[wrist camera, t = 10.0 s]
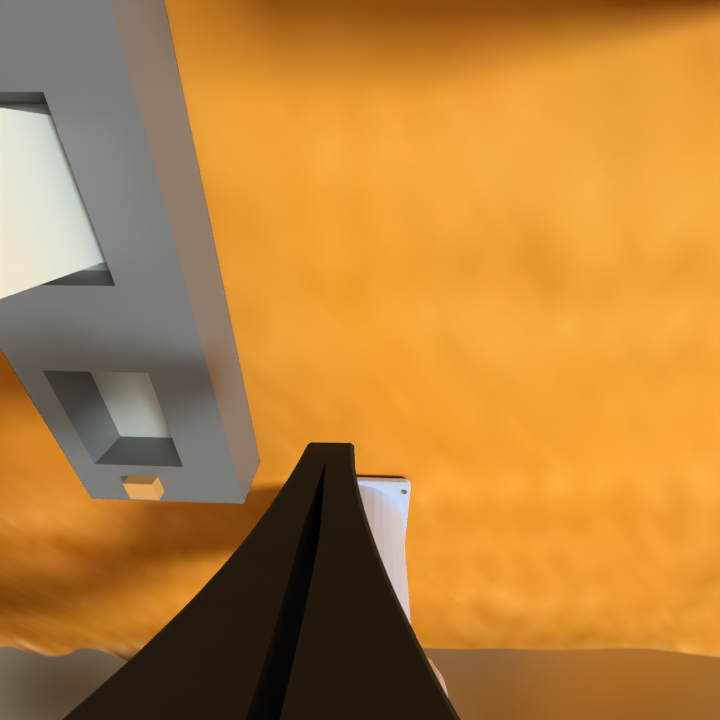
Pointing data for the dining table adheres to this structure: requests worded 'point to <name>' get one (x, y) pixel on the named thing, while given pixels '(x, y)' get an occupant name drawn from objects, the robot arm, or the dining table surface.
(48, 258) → the plug
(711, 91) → the dining table surface
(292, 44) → the dining table surface
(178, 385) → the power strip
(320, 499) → the robot arm
